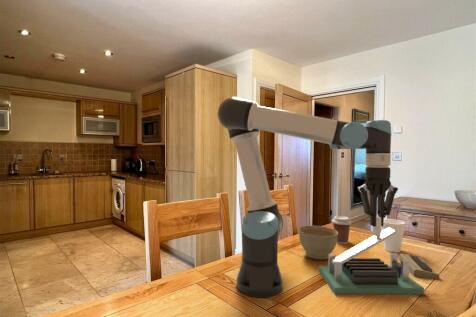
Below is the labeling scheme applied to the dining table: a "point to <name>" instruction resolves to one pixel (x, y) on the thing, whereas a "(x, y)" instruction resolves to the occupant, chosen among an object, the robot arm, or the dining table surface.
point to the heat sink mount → (370, 270)
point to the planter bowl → (318, 241)
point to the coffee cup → (341, 228)
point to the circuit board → (350, 288)
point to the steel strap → (364, 246)
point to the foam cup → (396, 240)
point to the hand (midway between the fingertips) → (376, 235)
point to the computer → (419, 266)
